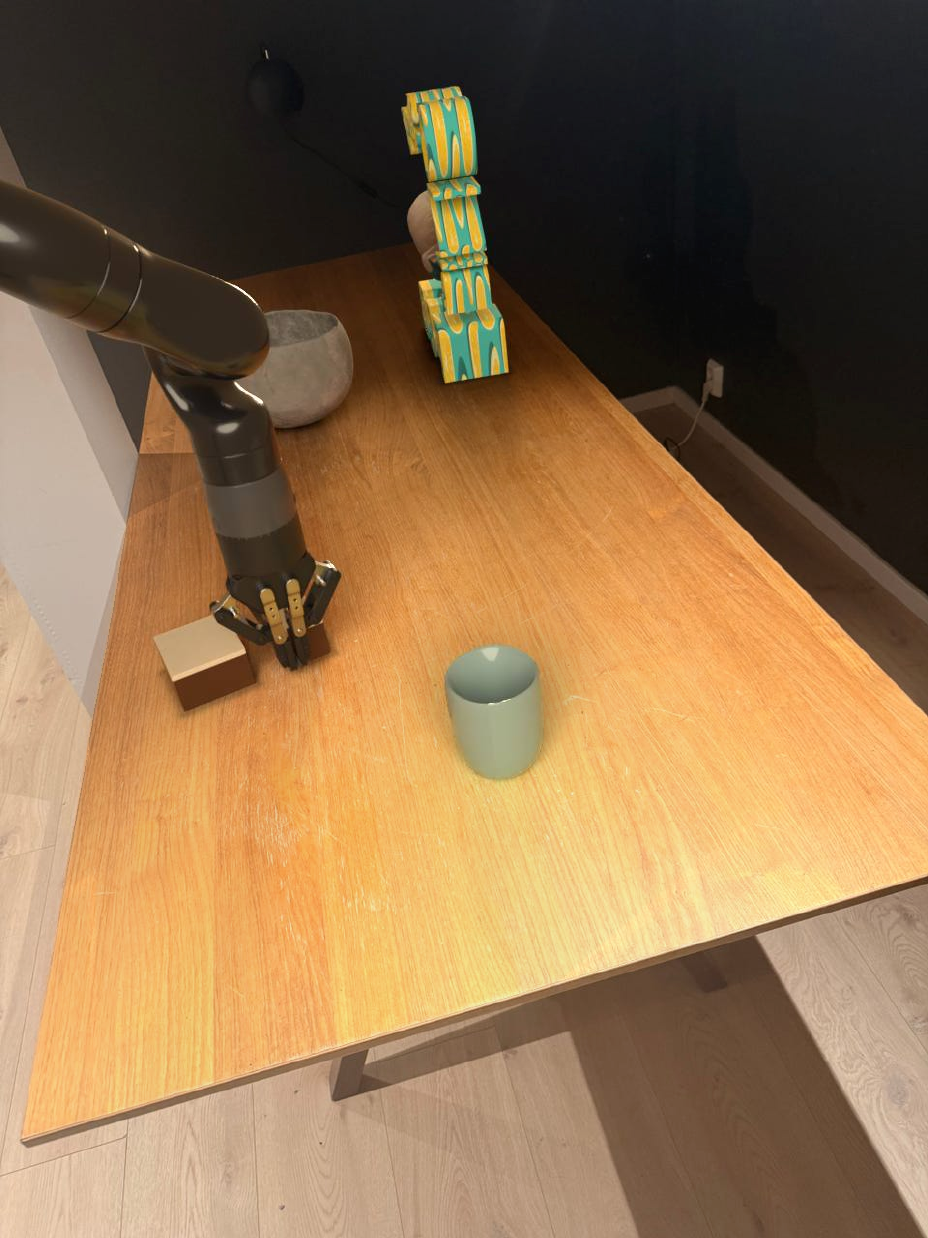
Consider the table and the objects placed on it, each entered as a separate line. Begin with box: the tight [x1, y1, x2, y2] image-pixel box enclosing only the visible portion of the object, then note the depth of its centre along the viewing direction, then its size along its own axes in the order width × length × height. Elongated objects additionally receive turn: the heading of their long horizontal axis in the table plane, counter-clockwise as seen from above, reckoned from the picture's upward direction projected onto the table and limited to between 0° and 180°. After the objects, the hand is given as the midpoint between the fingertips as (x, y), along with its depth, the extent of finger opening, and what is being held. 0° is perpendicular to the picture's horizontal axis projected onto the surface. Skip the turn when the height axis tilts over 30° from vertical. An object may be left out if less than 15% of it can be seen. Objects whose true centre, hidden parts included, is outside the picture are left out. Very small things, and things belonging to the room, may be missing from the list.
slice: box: [279, 595, 331, 667], centre depth 100 cm, size 4×8×4 cm, turn 30°
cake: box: [152, 614, 257, 712], centre depth 97 cm, size 8×8×4 cm
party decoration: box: [401, 85, 509, 384], centre depth 155 cm, size 31×12×40 cm, turn 9°
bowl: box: [235, 309, 354, 429], centre depth 145 cm, size 20×20×15 cm
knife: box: [247, 607, 304, 668], centre depth 99 cm, size 16×1×2 cm, turn 31°
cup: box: [443, 644, 545, 781], centre depth 81 cm, size 8×8×10 cm
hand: (296, 664), depth 95 cm, fingers closed
